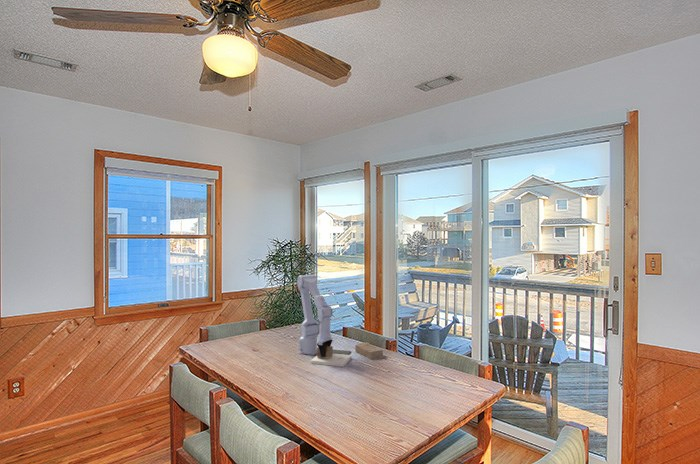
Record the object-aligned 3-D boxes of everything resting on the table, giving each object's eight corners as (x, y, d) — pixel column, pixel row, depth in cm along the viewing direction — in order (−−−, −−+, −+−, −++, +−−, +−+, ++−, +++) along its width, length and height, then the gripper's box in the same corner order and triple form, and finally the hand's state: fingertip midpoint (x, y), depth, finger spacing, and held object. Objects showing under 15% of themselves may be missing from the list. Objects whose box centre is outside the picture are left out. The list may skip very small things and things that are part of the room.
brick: (383, 357, 204) (383, 348, 204) (371, 360, 199) (371, 351, 199) (366, 350, 218) (366, 341, 218) (354, 352, 213) (354, 344, 213)
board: (310, 363, 194) (310, 360, 194) (320, 355, 207) (320, 352, 207) (343, 366, 189) (343, 363, 189) (351, 358, 202) (351, 355, 202)
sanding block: (317, 357, 197) (317, 348, 198) (320, 354, 202) (320, 345, 202) (329, 358, 196) (329, 349, 196) (332, 355, 200) (332, 346, 200)
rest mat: (326, 354, 208) (326, 353, 208) (330, 350, 216) (330, 349, 216) (347, 356, 205) (347, 355, 205) (350, 352, 212) (350, 351, 212)
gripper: (327, 333, 191) (327, 359, 191) (336, 326, 205) (336, 351, 205) (314, 332, 193) (314, 358, 193) (324, 325, 207) (324, 350, 207)
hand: (325, 354), depth 199 cm, fingers closed on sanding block, 5 cm apart
